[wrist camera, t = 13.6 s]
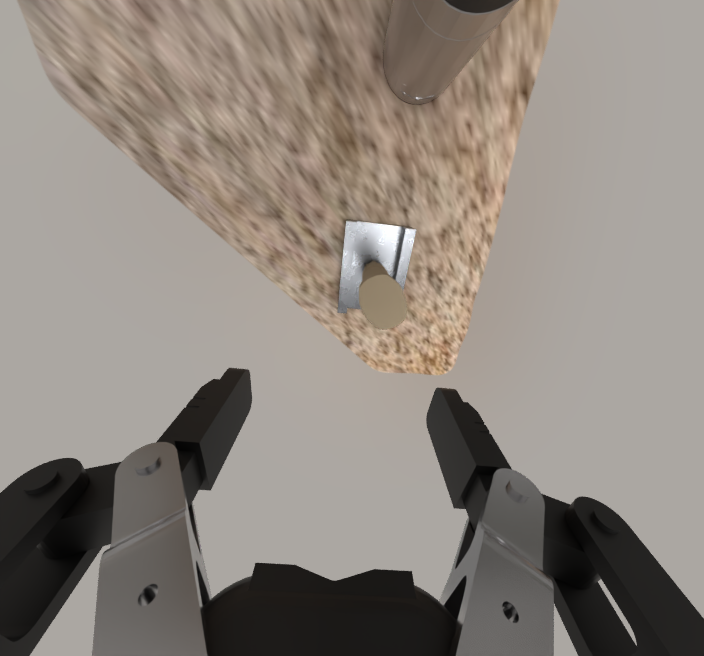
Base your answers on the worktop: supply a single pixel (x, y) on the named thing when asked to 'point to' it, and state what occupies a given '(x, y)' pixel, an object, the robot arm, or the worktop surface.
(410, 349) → the worktop surface
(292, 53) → the worktop surface
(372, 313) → the handle
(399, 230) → the floor track
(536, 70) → the worktop surface
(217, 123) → the worktop surface
